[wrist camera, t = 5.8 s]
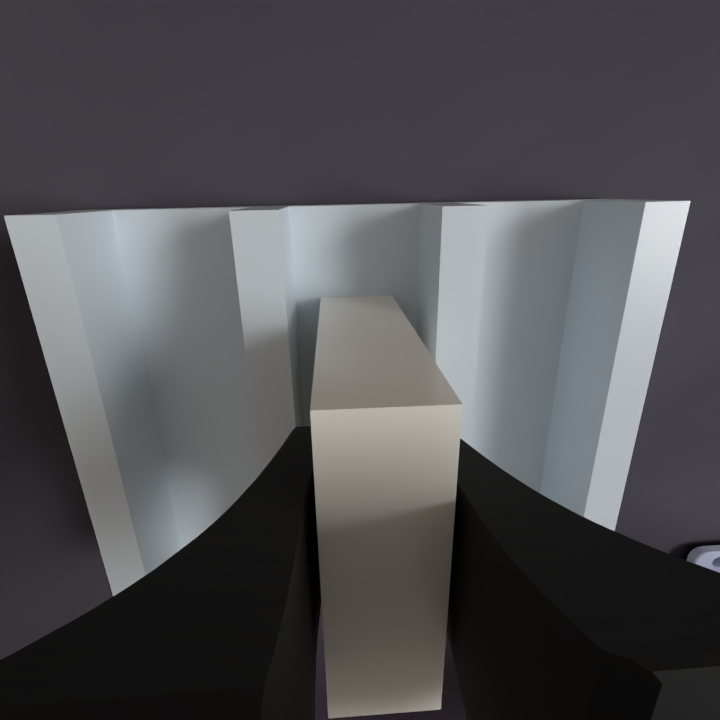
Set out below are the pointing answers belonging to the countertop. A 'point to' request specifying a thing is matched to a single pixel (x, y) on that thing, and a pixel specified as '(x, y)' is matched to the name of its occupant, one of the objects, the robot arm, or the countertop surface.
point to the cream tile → (382, 507)
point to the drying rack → (299, 336)
